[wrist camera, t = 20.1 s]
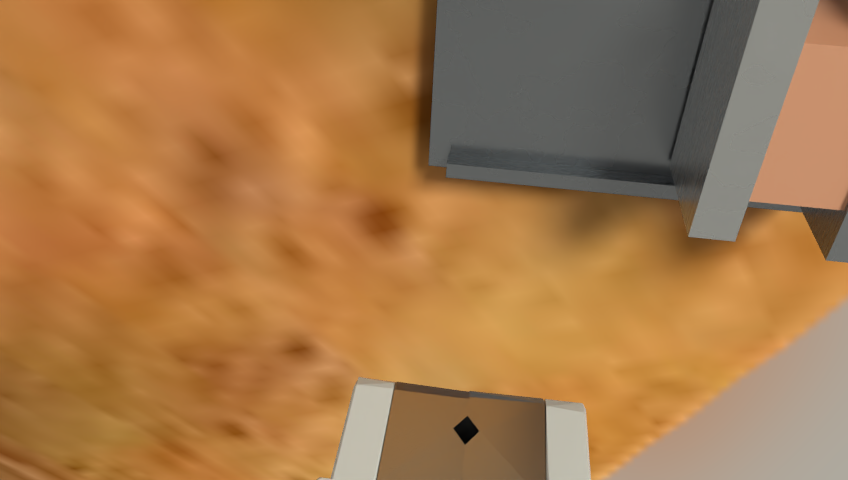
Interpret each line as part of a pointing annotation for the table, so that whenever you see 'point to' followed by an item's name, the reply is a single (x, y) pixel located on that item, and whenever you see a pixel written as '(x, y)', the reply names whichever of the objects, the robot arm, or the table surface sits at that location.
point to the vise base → (575, 97)
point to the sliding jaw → (735, 108)
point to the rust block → (812, 122)
